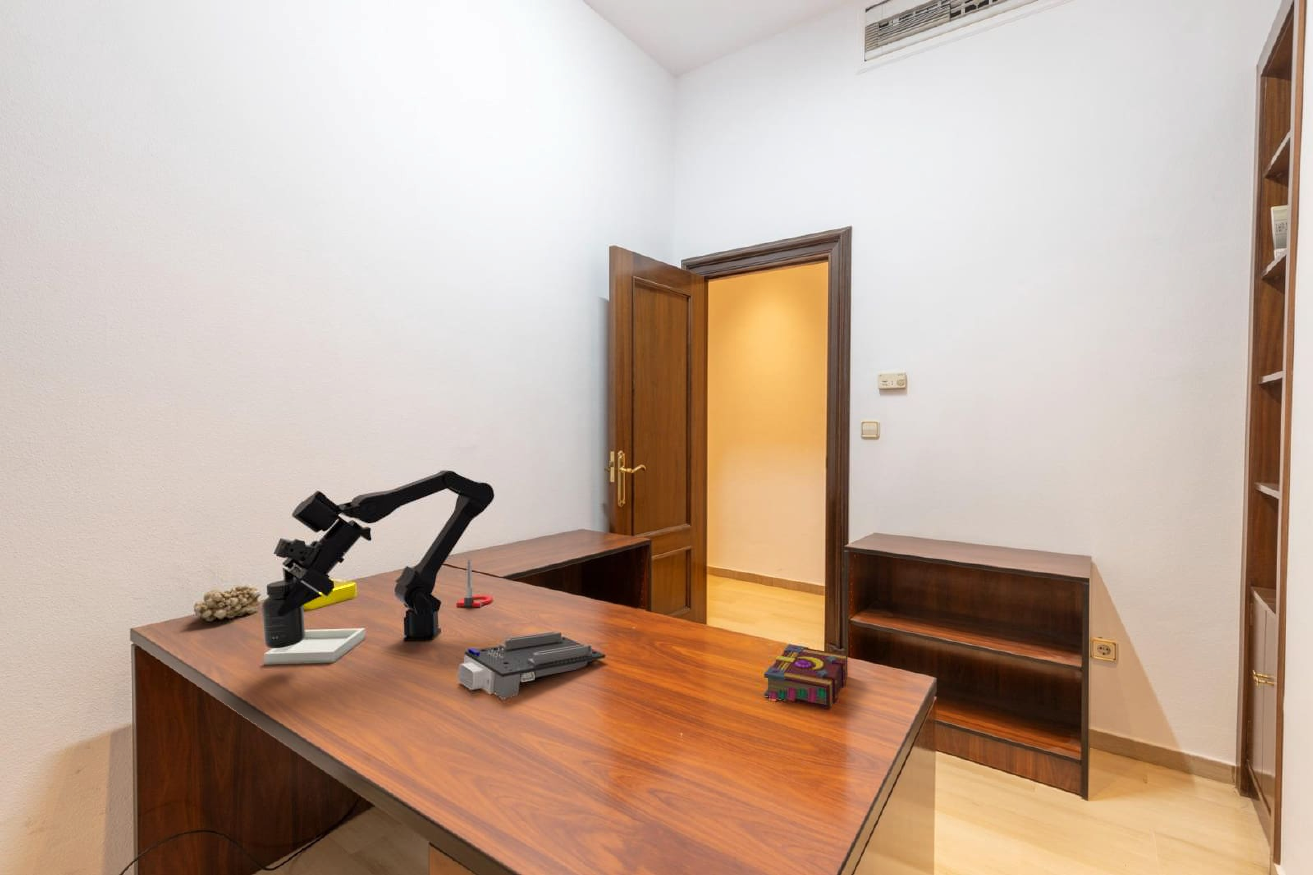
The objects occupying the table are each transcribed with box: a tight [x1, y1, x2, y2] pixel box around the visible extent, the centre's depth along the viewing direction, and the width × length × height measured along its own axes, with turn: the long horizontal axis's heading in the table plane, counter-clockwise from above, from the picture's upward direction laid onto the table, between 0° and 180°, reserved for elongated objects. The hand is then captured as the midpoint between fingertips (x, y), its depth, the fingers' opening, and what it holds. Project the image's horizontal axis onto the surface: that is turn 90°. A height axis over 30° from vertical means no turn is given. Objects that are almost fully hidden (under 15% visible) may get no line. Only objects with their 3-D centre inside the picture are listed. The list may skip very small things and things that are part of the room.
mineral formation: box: [193, 584, 263, 622], centre depth 153 cm, size 8×13×15 cm
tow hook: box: [456, 557, 494, 609], centre depth 162 cm, size 8×13×9 cm
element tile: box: [303, 577, 358, 611], centre depth 168 cm, size 15×15×5 cm
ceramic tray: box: [263, 627, 366, 666], centre depth 129 cm, size 14×14×2 cm
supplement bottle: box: [261, 579, 306, 649], centre depth 118 cm, size 7×7×12 cm
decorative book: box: [763, 643, 849, 710], centre depth 106 cm, size 11×16×5 cm
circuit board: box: [457, 631, 606, 699], centre depth 116 cm, size 25×7×15 cm
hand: (275, 611), depth 117 cm, fingers closed on supplement bottle, 7 cm apart
